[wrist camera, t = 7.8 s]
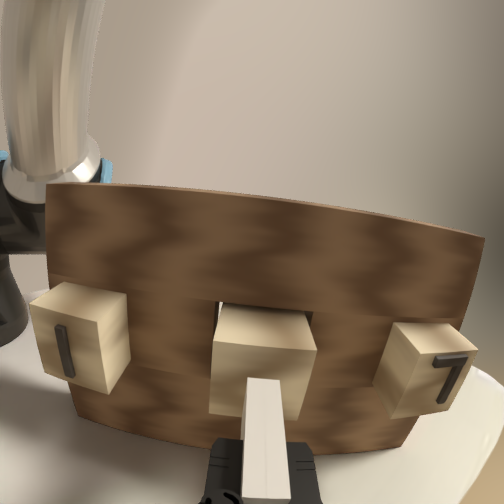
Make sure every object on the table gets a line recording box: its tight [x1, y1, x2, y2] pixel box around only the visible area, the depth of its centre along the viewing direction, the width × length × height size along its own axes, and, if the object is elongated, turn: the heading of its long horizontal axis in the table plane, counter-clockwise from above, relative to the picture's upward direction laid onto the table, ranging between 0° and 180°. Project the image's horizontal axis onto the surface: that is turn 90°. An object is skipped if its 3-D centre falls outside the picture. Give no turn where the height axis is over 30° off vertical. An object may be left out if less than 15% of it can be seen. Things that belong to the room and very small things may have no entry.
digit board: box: [29, 182, 485, 455], centre depth 19 cm, size 30×12×20 cm, turn 89°
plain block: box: [209, 302, 317, 421], centre depth 18 cm, size 5×9×5 cm, turn 179°
